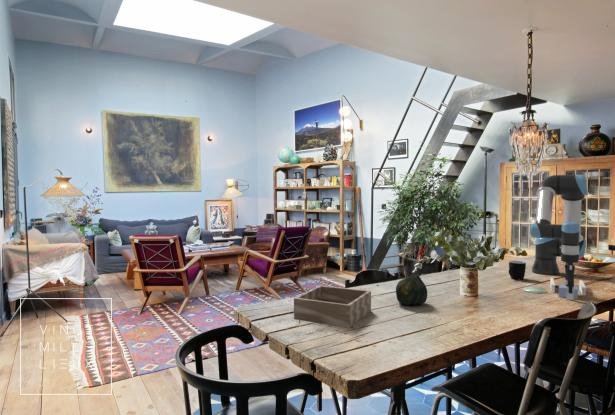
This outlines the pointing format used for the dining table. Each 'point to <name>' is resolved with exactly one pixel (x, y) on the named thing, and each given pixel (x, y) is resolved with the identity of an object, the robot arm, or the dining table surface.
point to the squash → (411, 290)
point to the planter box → (332, 306)
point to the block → (563, 290)
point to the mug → (517, 269)
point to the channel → (581, 287)
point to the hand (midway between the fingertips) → (569, 296)
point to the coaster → (534, 290)
